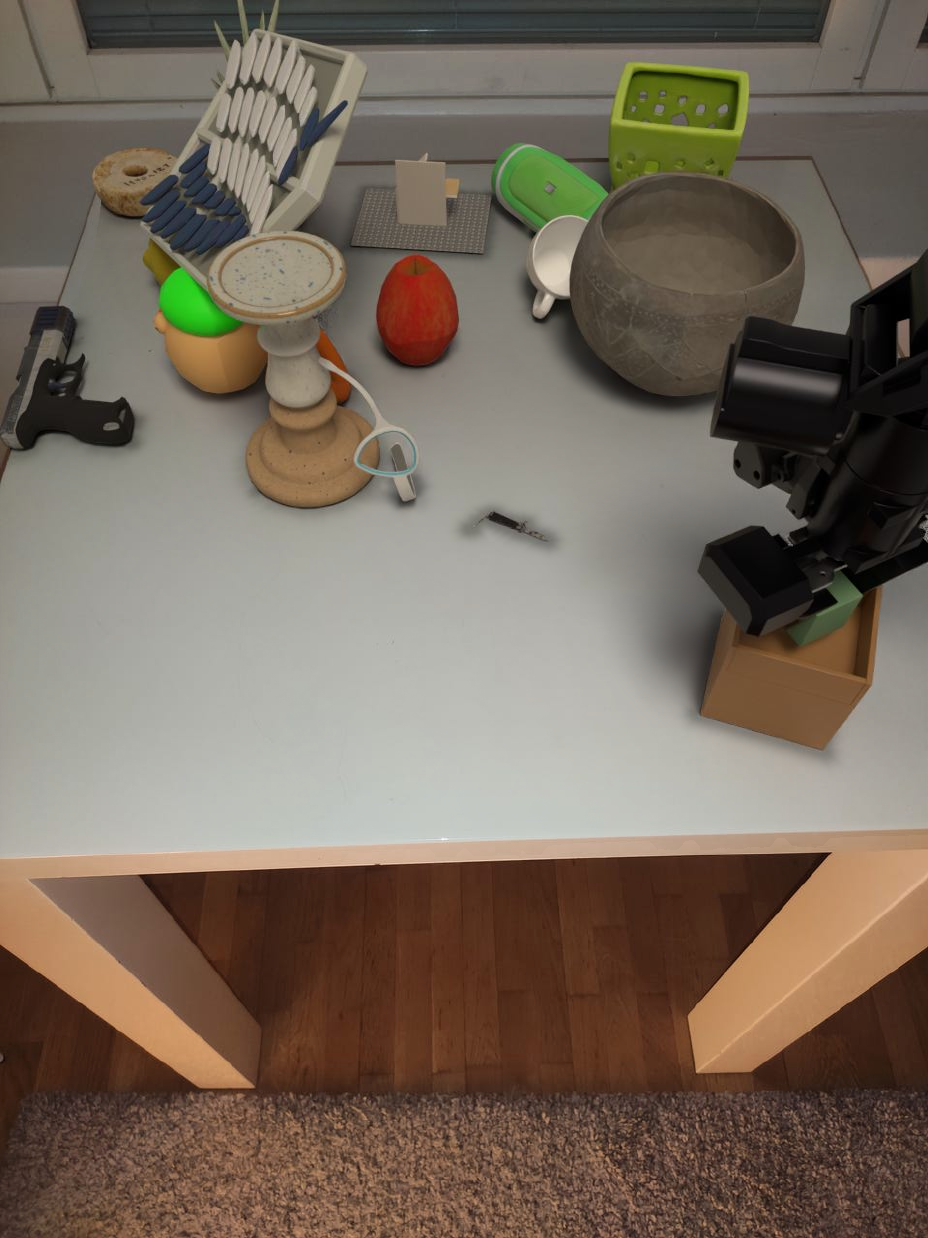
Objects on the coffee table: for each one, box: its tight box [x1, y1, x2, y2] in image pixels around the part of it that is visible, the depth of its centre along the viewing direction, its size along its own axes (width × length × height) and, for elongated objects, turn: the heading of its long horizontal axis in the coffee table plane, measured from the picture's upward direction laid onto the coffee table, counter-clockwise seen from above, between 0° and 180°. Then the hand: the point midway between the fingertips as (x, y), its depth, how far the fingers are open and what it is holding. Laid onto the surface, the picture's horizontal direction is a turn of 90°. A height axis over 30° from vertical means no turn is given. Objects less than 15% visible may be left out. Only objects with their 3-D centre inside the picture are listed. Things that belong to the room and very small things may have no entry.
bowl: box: [569, 171, 806, 397], centre depth 86 cm, size 21×21×15 cm
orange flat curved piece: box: [255, 324, 352, 403], centre depth 84 cm, size 10×2×15 cm
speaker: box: [490, 142, 610, 234], centre depth 101 cm, size 18×7×8 cm
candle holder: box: [207, 230, 381, 508], centre depth 76 cm, size 12×12×20 cm
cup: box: [525, 215, 588, 320], centre depth 95 cm, size 8×10×7 cm
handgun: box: [0, 305, 135, 450], centre depth 90 cm, size 3×19×12 cm
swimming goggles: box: [318, 357, 421, 502], centre depth 78 cm, size 14×8×6 cm
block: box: [786, 570, 863, 647], centre depth 62 cm, size 4×4×4 cm
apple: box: [375, 254, 460, 367], centre depth 88 cm, size 8×8×11 cm
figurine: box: [153, 267, 268, 395], centre depth 86 cm, size 11×10×12 cm
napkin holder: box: [393, 152, 461, 226], centre depth 103 cm, size 3×7×7 cm, turn 84°
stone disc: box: [91, 147, 178, 217], centre depth 107 cm, size 10×4×10 cm
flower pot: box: [607, 61, 750, 194], centre depth 101 cm, size 14×14×13 cm
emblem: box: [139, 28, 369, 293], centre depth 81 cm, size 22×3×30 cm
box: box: [699, 584, 884, 751], centre depth 67 cm, size 9×9×10 cm
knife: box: [471, 510, 549, 541], centre depth 80 cm, size 6×1×3 cm
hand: (806, 613), depth 64 cm, fingers closed on block, 4 cm apart
